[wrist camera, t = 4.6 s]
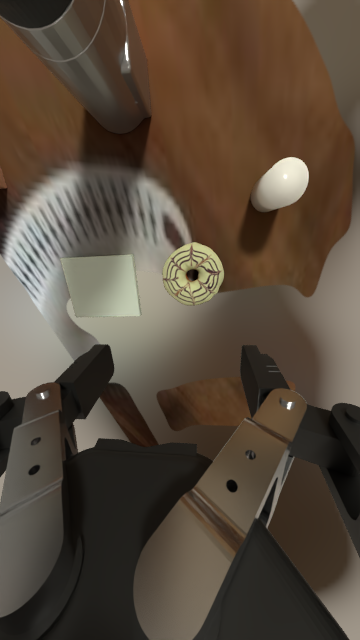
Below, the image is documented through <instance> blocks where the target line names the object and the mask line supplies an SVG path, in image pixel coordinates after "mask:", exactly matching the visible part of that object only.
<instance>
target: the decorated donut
mask: <svg viewBox="0 0 360 640" xmlns="http://www.w3.org/2000/svg"><path fill="white" fill-rule="evenodd" d="M191 269H196V270H197V271H198V272H199V274H198V279H197V280H195V281H190V280H189V279H188V278H187V271H189V270H191ZM162 275H163V283H164V287H165V289H166V290H167V292H168V293H169V294H170V295H171V296H172V297H173V298H175V299H176V300H178V301H179V302H180V303H182V304H185V305H199V304H202V303H204V302H207V301H209V300H211V299H212V297H213V295H215V294H217V292H218V290H219V287H220V285H221V283H222V282H223V278H224V270H223V267H222V263H221V262H220V260H219V258H218V256H217V255H216V254H215V253H214V252H213V251H212V250H211V249H210V248H208V247H207V246H204V245H201V244H198V243H195V242H193V243H190V244H187V245H184V246H182V247H181V248H179V249H177V250H176V251H174V252H173V253H172V254H171V256H170V257H169V258H168V260H167V261H166V263H165V265H164V268H163V273H162Z"/></svg>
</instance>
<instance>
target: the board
mask: <svg viewBox="0 0 360 640" xmlns="http://www.w3.org/2000/svg"><path fill="white" fill-rule="evenodd" d="M60 260H61V264H62V267H63V271H64V275H65V278H66V282H67V286H68V289H69V293H70V297H71V300H72V304H73V308H74V311H75V315H76V317H117V316H118V317H123V316H141V307H140V299H139V292H138V285H137V278H136V270H135V263H134V255H133V254H130V255H110V256H90V257H69V258H60Z"/></svg>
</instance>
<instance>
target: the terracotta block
mask: <svg viewBox="0 0 360 640" xmlns="http://www.w3.org/2000/svg"><path fill="white" fill-rule="evenodd" d="M5 188H7V186H6V183H5V179H4V176H3V173H2V170H1V167H0V189H5Z"/></svg>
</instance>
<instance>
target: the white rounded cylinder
mask: <svg viewBox="0 0 360 640" xmlns="http://www.w3.org/2000/svg"><path fill="white" fill-rule="evenodd" d="M308 179H309V174H308V169H307V167H306V165H305V164H304V162H303V161H301V160H300V159H298V158H293V157H289V158H285V159H282V160H280V161H279V162H277V163H276V164H275V165H274V166H273V167H272V168H271V169H270V170H269V171H268V172H267V173H266V174H264V175H263V176H262V177H261V178H260V179H259V180H258V181H257V182H256V183H255V185H254V186H253V189H252V191H251V202H252V205H253V207H254V208H255V209H256V210H258V211H260V212H269V211H272V210H275V209H278V208H281V207H284V206H287V205H290V204H292V203H294V202H295V201H297V200H298V199H299V198H300V197H301V196H302V195H303V193H304V191H305V190H306V187H307V184H308Z"/></svg>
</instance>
